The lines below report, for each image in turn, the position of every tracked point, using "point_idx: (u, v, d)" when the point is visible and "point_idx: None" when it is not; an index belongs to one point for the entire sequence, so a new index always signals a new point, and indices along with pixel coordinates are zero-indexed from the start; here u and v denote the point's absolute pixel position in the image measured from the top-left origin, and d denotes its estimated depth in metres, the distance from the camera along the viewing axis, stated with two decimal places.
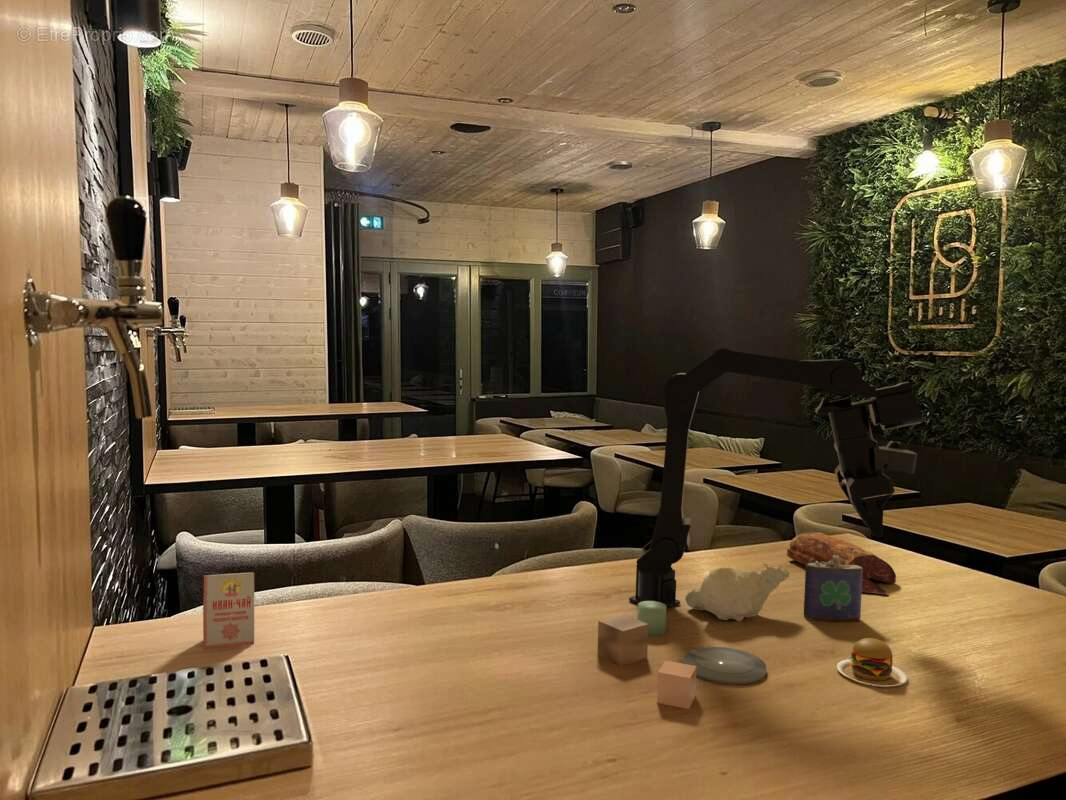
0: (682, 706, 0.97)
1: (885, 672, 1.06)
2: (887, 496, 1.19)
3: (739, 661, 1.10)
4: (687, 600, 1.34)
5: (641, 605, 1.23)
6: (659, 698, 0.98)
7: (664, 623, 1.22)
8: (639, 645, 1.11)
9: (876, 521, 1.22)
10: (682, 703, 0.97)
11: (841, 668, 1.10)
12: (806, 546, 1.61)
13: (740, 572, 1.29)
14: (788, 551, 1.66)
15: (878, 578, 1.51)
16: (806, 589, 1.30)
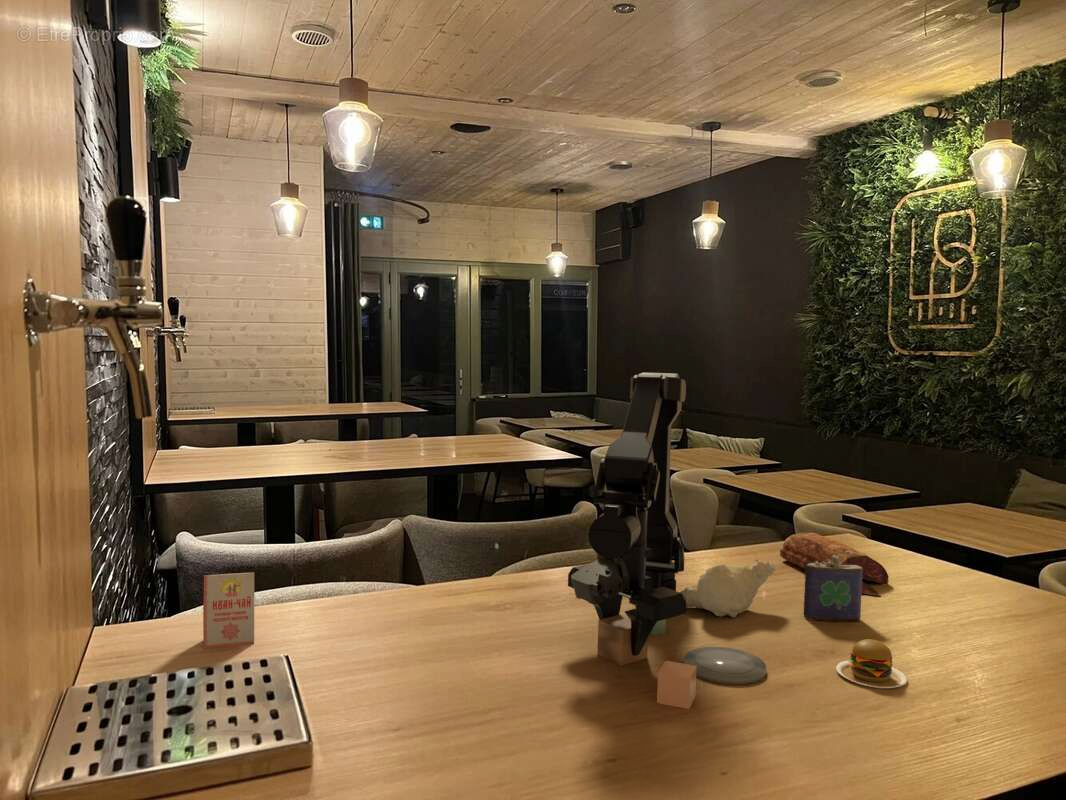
0: (682, 706, 0.97)
1: (885, 673, 1.06)
2: None
3: (739, 661, 1.10)
4: None
5: None
6: (659, 698, 0.98)
7: (664, 623, 1.22)
8: None
9: None
10: (682, 703, 0.97)
11: (840, 670, 1.09)
12: (799, 547, 1.61)
13: (734, 568, 1.31)
14: (781, 551, 1.66)
15: (871, 579, 1.50)
16: (806, 589, 1.31)
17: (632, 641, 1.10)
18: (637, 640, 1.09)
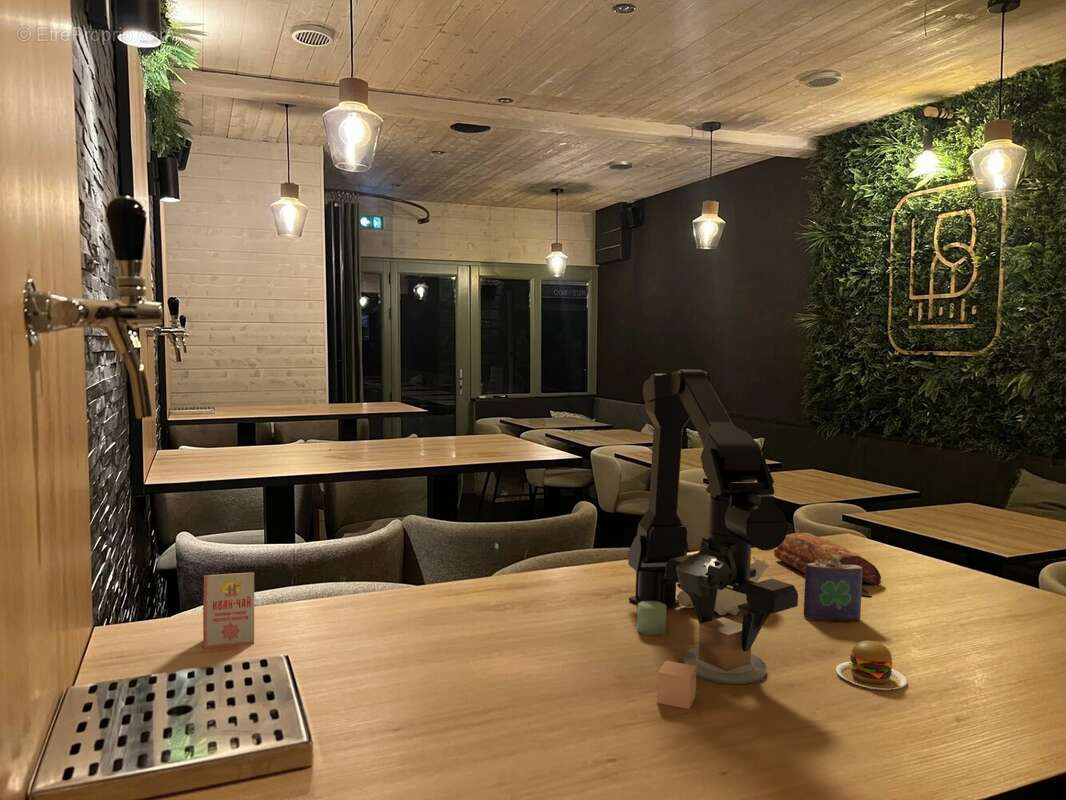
0: (682, 706, 0.97)
1: (886, 675, 1.05)
2: (679, 584, 1.13)
3: None
4: (679, 599, 1.34)
5: (641, 605, 1.23)
6: (659, 698, 0.98)
7: (664, 623, 1.22)
8: None
9: None
10: (682, 703, 0.97)
11: (840, 672, 1.09)
12: (792, 547, 1.61)
13: None
14: (775, 551, 1.66)
15: (863, 579, 1.50)
16: (806, 589, 1.31)
17: (743, 636, 1.06)
18: (749, 635, 1.05)
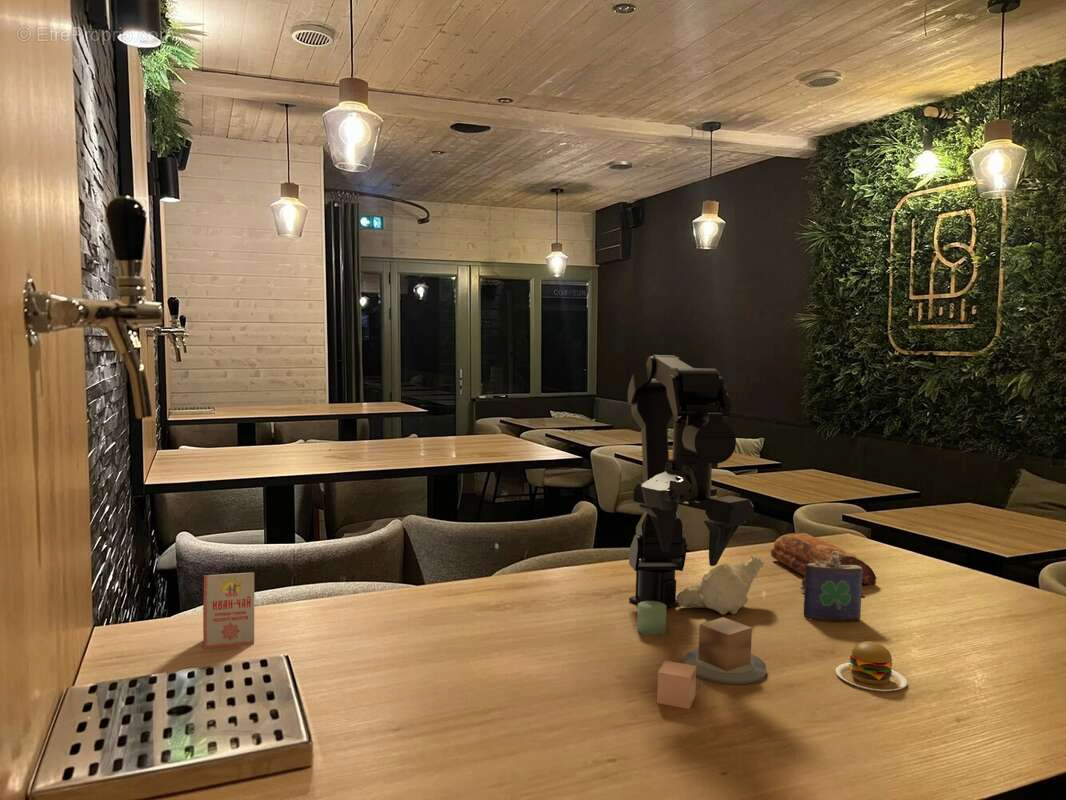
0: (682, 706, 0.97)
1: (886, 676, 1.05)
2: None
3: None
4: (679, 600, 1.34)
5: (641, 605, 1.23)
6: (659, 698, 0.98)
7: (664, 623, 1.22)
8: (743, 649, 1.08)
9: None
10: (682, 703, 0.97)
11: (840, 673, 1.08)
12: (789, 547, 1.61)
13: (733, 566, 1.33)
14: (772, 551, 1.66)
15: None
16: (806, 589, 1.31)
17: (710, 551, 1.13)
18: (715, 550, 1.12)
